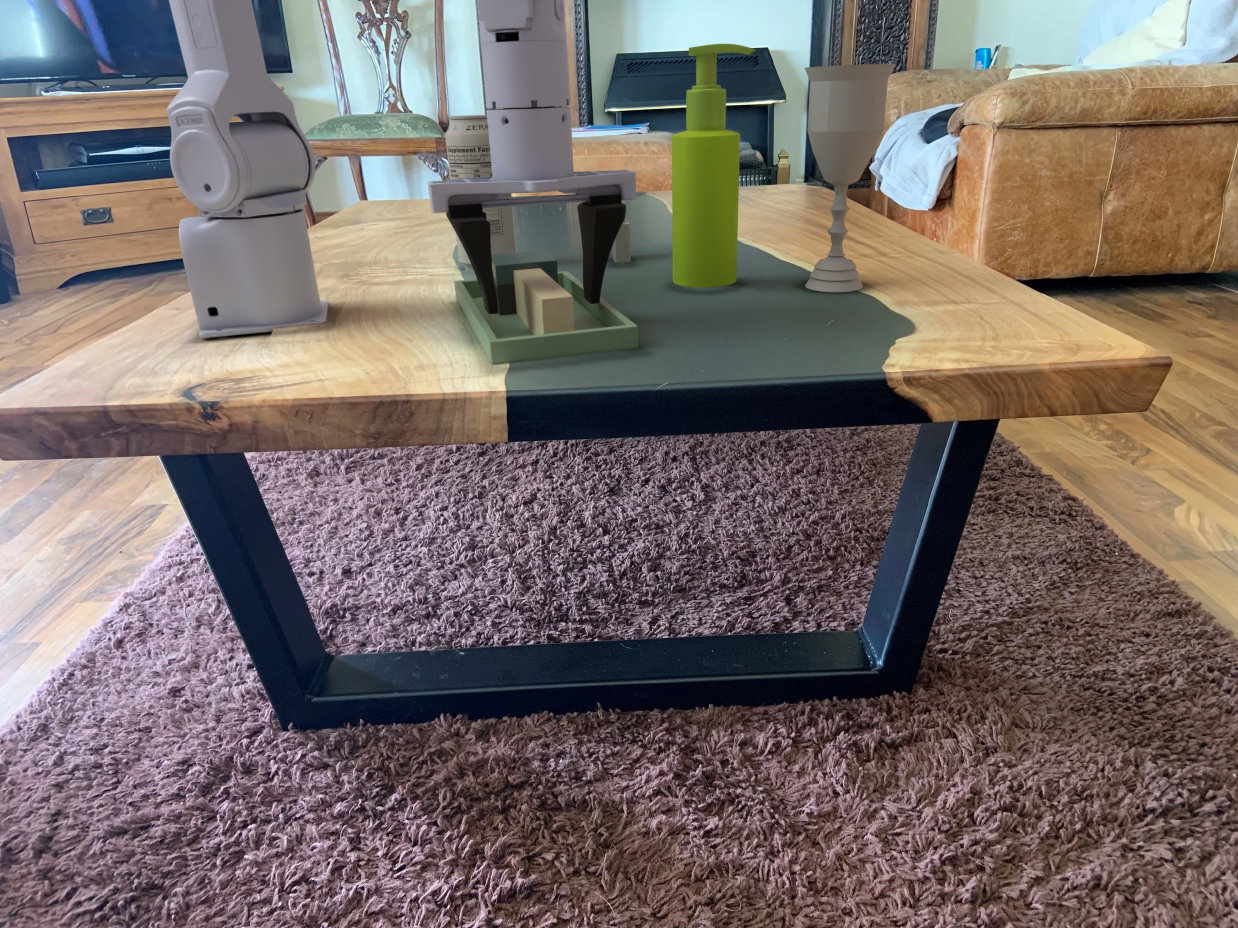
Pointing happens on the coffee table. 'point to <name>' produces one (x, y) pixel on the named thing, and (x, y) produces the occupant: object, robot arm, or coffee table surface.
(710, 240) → the soap dispenser
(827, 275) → the chalice
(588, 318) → the tray
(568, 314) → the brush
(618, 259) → the lighter
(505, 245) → the energy drink can
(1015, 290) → the coffee table surface
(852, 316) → the coffee table surface
